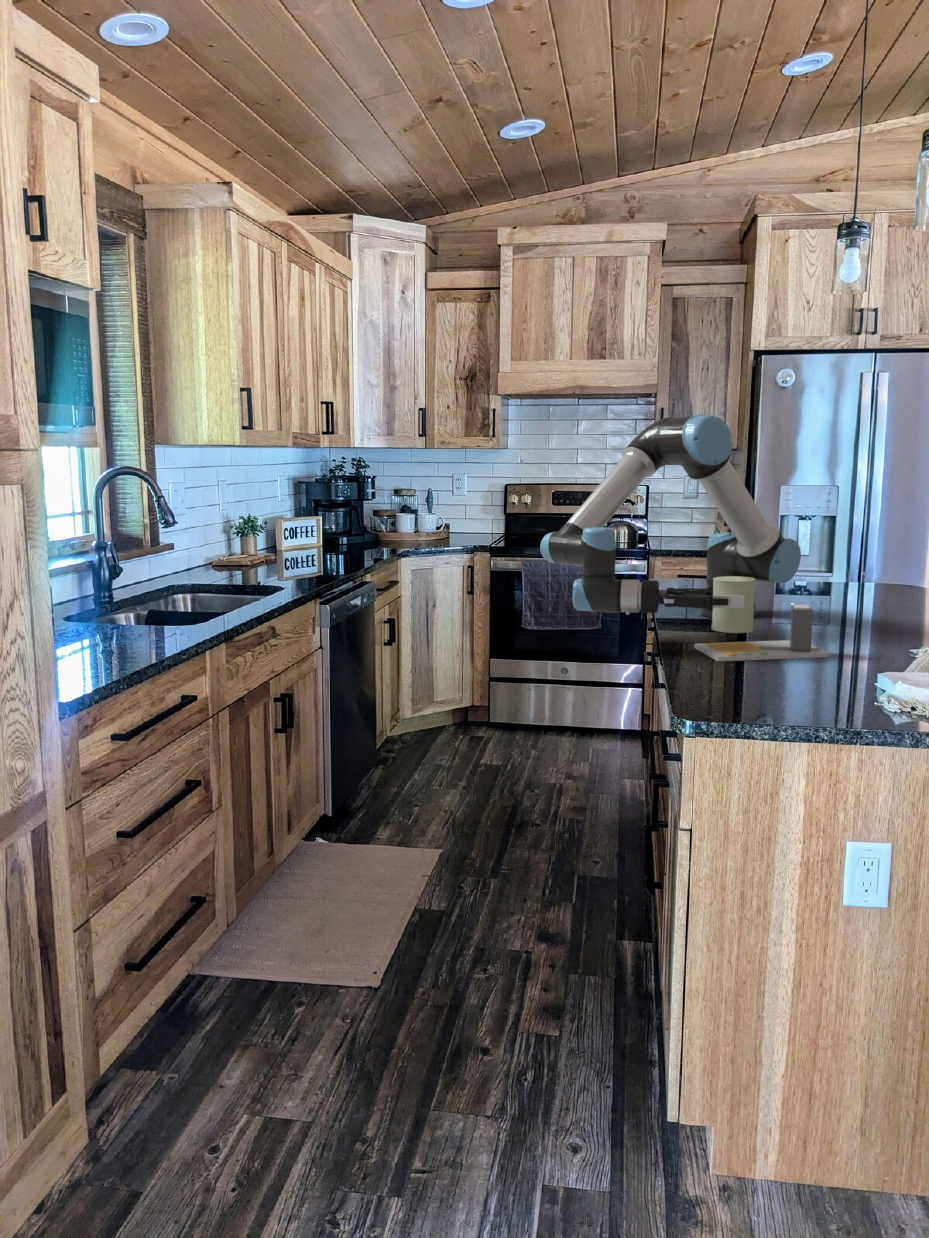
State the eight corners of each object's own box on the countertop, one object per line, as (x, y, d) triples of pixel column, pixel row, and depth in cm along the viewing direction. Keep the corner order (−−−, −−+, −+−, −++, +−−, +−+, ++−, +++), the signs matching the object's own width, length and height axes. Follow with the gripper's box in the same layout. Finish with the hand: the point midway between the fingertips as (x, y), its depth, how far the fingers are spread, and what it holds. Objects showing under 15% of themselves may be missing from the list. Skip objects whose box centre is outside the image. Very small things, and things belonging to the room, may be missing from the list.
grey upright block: (808, 646, 212) (810, 604, 210) (810, 650, 207) (812, 608, 206) (789, 645, 213) (791, 604, 211) (791, 650, 208) (793, 607, 207)
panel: (798, 643, 221) (798, 638, 221) (828, 656, 206) (829, 650, 206) (694, 648, 219) (694, 642, 219) (717, 661, 204) (717, 655, 204)
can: (755, 633, 207) (757, 579, 205) (712, 632, 209) (714, 578, 207) (751, 626, 216) (753, 574, 214) (710, 625, 218) (711, 573, 216)
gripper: (643, 605, 228) (741, 608, 222) (637, 620, 207) (744, 623, 201) (644, 574, 226) (742, 576, 221) (637, 586, 206) (745, 588, 200)
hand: (743, 598), depth 211 cm, fingers closed on can, 9 cm apart
